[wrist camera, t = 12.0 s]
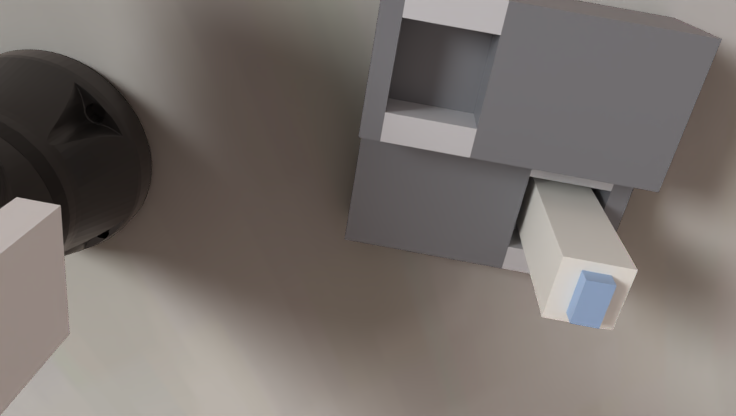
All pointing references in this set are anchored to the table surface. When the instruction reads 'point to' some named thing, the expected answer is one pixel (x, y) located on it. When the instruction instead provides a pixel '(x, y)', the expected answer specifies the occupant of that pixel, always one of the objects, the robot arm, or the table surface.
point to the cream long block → (573, 254)
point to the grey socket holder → (514, 116)
